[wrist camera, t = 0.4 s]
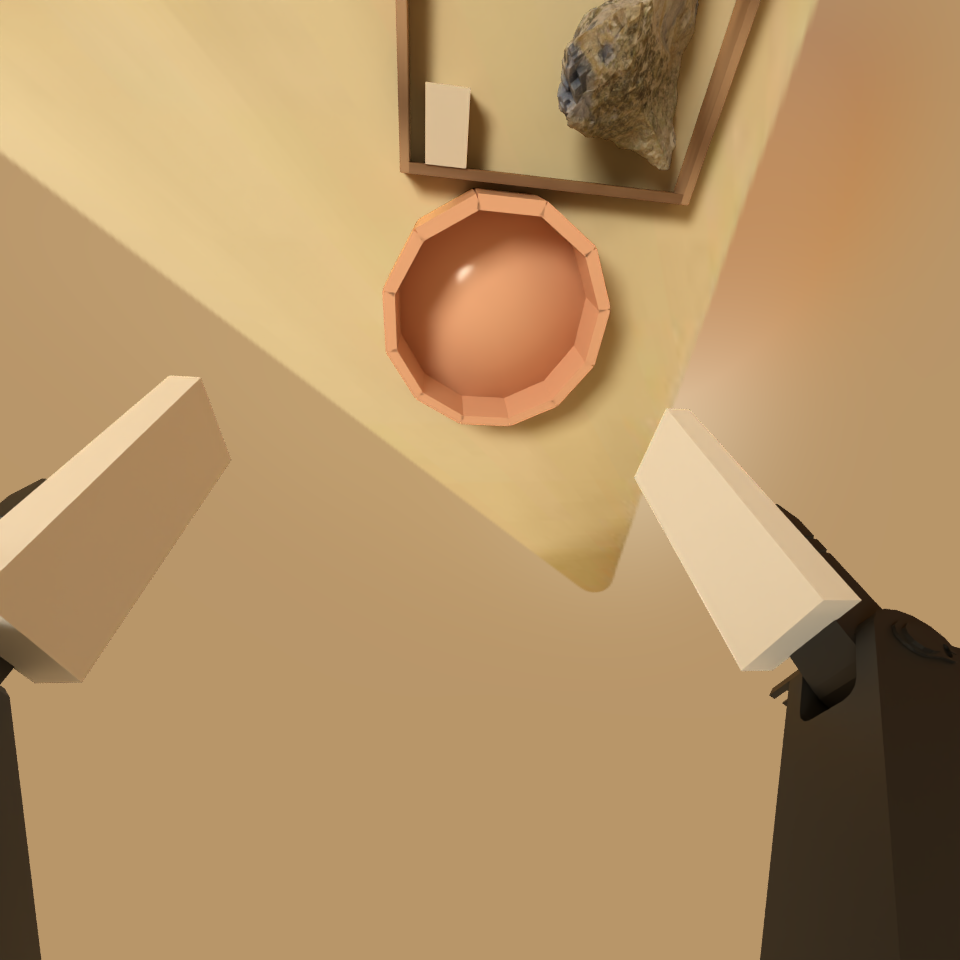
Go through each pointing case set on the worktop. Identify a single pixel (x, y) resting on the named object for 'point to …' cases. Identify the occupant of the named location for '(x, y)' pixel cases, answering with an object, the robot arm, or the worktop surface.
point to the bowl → (494, 308)
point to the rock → (628, 74)
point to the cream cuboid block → (446, 124)
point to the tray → (681, 195)
